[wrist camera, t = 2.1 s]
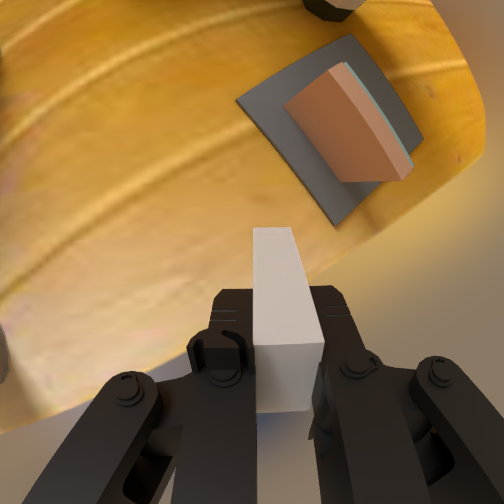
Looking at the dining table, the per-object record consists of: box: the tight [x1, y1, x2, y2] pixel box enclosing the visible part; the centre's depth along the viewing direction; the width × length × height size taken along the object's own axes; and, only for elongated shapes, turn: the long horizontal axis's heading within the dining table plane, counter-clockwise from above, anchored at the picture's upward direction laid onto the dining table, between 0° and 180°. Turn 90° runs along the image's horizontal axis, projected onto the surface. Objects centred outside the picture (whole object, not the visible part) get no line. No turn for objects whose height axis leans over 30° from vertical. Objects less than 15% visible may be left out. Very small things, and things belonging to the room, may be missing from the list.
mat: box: [236, 33, 424, 226], centre depth 34 cm, size 22×20×1 cm
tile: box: [283, 62, 414, 182], centre depth 27 cm, size 2×12×12 cm, turn 40°
